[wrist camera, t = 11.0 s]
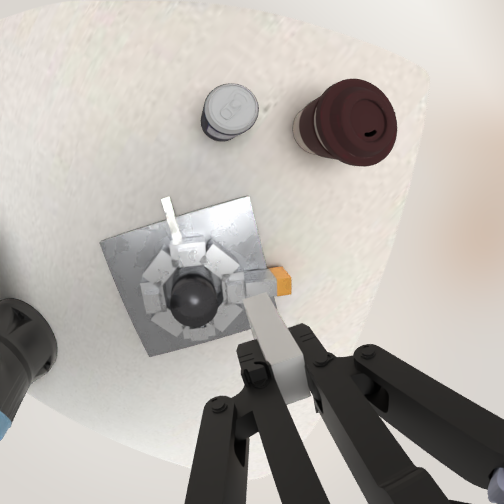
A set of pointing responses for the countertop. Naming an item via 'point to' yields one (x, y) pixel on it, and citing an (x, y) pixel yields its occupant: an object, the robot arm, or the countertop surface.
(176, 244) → the segmented block ring
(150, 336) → the flange plate
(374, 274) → the countertop surface
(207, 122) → the beverage can
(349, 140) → the coffee cup
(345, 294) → the countertop surface
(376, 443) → the robot arm
